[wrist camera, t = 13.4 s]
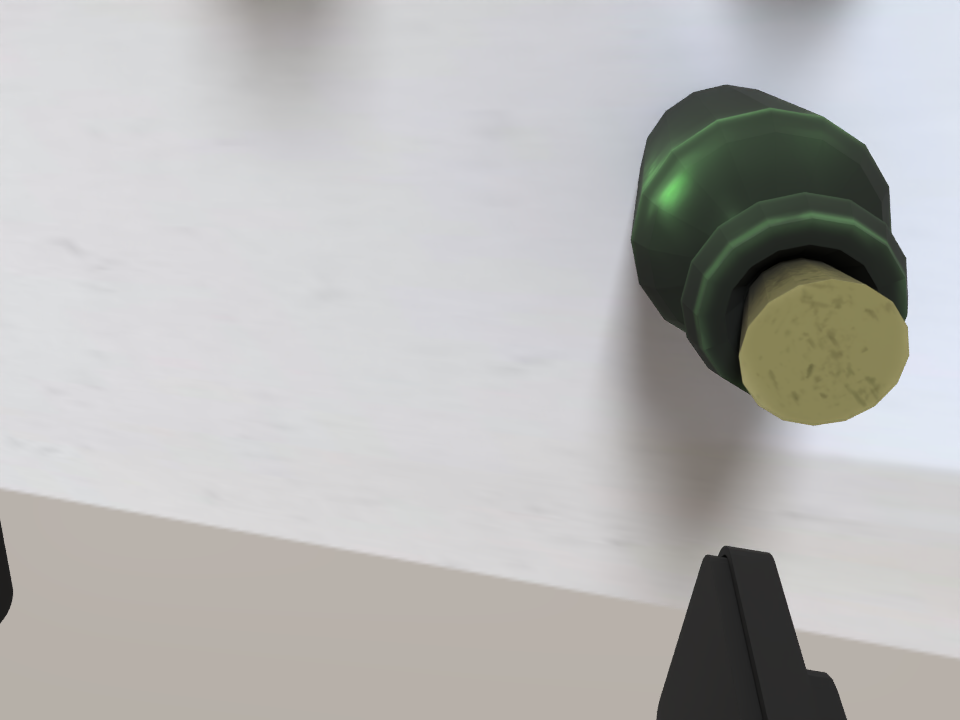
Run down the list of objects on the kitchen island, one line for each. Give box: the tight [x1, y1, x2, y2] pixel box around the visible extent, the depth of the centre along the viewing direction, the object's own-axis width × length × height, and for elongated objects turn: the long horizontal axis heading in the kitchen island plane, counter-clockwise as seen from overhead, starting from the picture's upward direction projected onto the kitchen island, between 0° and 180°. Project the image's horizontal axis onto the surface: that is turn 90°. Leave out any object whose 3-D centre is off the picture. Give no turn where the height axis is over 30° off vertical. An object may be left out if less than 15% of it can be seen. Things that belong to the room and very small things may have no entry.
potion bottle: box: [631, 85, 909, 426], centre depth 28 cm, size 8×8×18 cm
